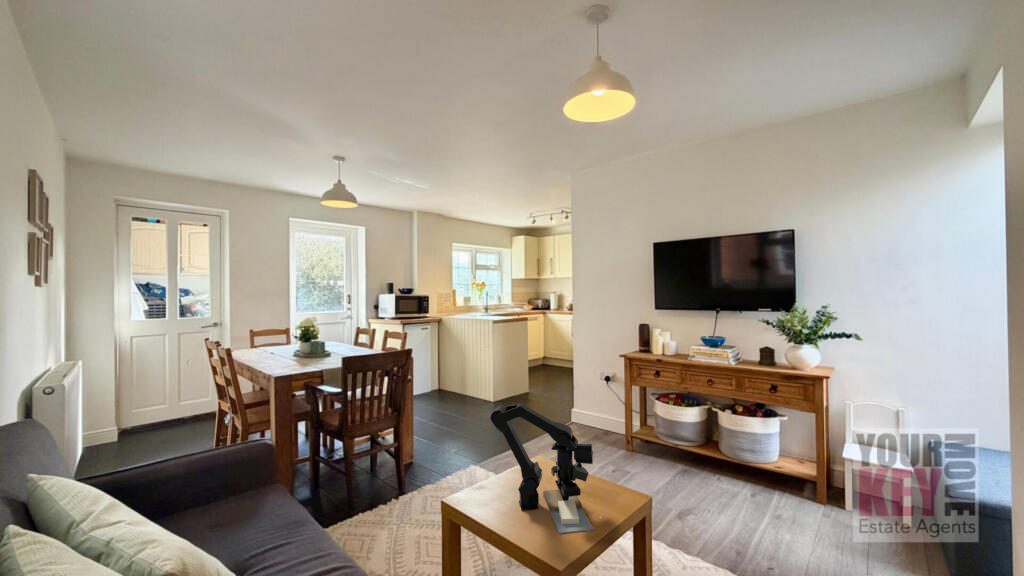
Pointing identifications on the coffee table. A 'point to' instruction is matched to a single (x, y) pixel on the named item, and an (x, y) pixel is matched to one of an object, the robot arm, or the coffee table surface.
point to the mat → (568, 528)
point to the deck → (555, 496)
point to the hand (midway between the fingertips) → (565, 502)
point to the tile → (568, 512)
